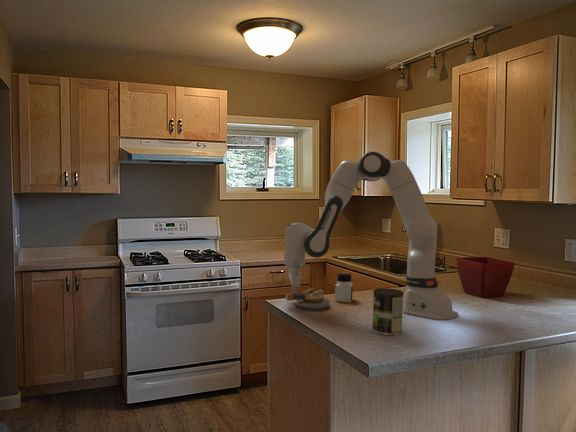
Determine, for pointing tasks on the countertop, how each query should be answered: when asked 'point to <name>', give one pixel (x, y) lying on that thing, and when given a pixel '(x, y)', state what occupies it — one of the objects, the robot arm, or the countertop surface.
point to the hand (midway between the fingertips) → (294, 292)
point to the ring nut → (307, 296)
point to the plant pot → (484, 275)
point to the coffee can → (387, 311)
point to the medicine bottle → (343, 288)
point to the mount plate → (313, 304)
